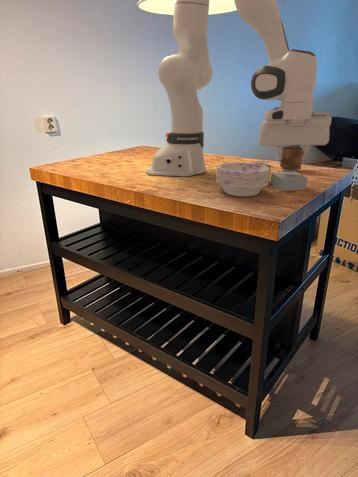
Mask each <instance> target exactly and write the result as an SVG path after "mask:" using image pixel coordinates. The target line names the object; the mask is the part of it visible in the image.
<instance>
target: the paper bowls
mask: <svg viewBox="0 0 358 477" xmlns="http://www.w3.org/2000/svg"><path fill="white" fill-rule="evenodd" d="M255 163H256V162H226V163H221V164H219V165H217V166H216V174H215V175H216V181H215V182H216V185H217V184H218V185H220V186H222V187H221V188H222V189H223V191H224V193H225V194H227V195H229V196H234V197H240V198H241V197H242V198H247V197H253V196H256V195H258V194H259V193H260V192H261V190H262V189H264V188H266V187H268V186H269V183H270V181H269V170H270V171H271V169H269V167H267V166H265V165H261V164H255ZM268 182H269V183H268Z"/></svg>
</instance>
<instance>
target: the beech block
mask: <svg viewBox="0 0 358 477" xmlns="http://www.w3.org/2000/svg"><path fill="white" fill-rule="evenodd" d="M254 163H255V164H261V165H265V166H267V167H269V169H270V170H269V182H268V184H270V182H271V166H272V165H271V164H269V163H267V162H264V161H262V162H259V161H258V162H254Z"/></svg>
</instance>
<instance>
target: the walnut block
mask: <svg viewBox="0 0 358 477" xmlns="http://www.w3.org/2000/svg"><path fill="white" fill-rule="evenodd" d="M303 151H304V148H302V147H301V146H300V147H299V146H281V152H280V154H283V155H284V158H283V161H279V164H280V165H279V166H280V168H281V169H282V168H283V169H297V170H301V169H302V163H303V161H302V153H303Z"/></svg>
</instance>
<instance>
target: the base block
mask: <svg viewBox="0 0 358 477" xmlns="http://www.w3.org/2000/svg"><path fill="white" fill-rule="evenodd" d="M307 182H308V177H307V176H306V175H303V174H301V173H299V172H297V171H295V172H286V171H282V172H280V171H279V172H271V173H270V185H271V186H273V187H274V188H276V189H277V190H279V191H280V192H286V191H303V190H307Z"/></svg>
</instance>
